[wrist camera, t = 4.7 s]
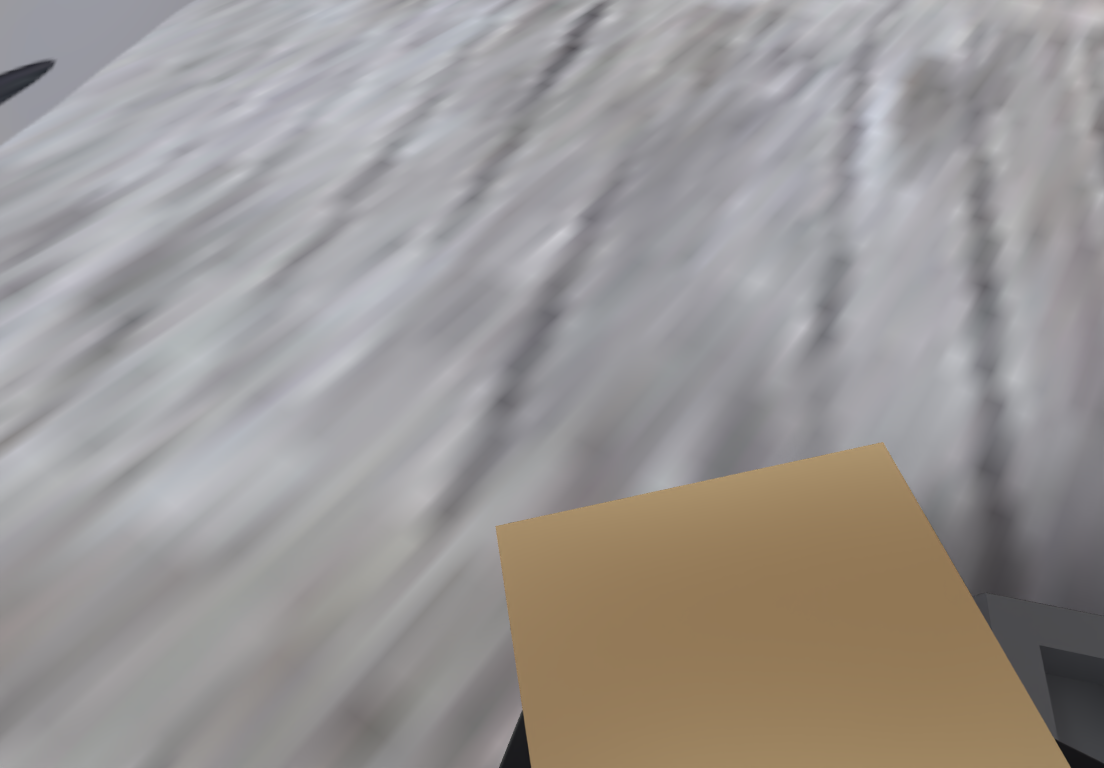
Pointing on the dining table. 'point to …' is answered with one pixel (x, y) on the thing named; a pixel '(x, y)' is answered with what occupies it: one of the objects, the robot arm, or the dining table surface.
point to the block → (760, 630)
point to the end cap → (1055, 664)
